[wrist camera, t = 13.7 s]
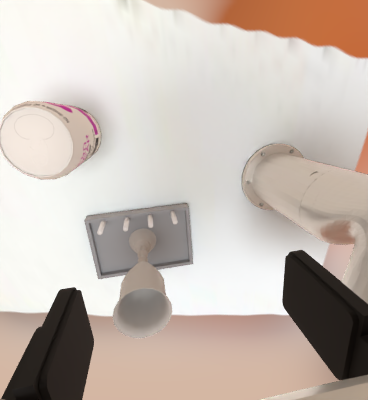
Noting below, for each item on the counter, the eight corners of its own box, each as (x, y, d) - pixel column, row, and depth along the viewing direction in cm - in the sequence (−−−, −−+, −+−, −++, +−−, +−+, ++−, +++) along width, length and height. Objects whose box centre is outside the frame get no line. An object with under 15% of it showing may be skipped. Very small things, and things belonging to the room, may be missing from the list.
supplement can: (42, 106, 37) (-20, 99, 23) (99, 107, 38) (74, 101, 24) (51, 160, 39) (0, 183, 25) (104, 159, 40) (83, 181, 26)
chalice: (130, 218, 43) (122, 282, 27) (166, 228, 45) (180, 294, 28) (119, 253, 45) (105, 334, 28) (154, 261, 47) (160, 341, 30)
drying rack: (186, 203, 45) (192, 215, 40) (191, 258, 49) (197, 276, 44) (87, 215, 43) (78, 230, 37) (100, 272, 47) (94, 293, 41)
